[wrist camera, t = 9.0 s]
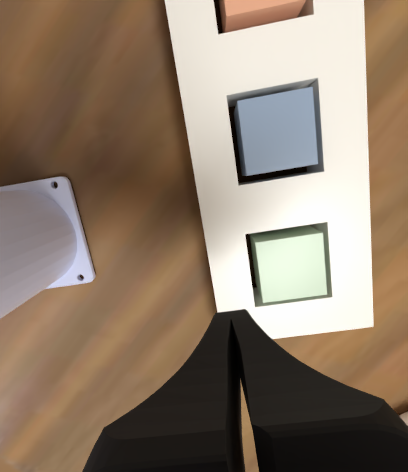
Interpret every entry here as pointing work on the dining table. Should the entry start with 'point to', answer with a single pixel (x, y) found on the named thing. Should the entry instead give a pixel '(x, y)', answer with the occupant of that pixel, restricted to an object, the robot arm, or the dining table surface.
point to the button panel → (289, 186)
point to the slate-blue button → (276, 132)
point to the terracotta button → (256, 12)
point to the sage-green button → (289, 263)
